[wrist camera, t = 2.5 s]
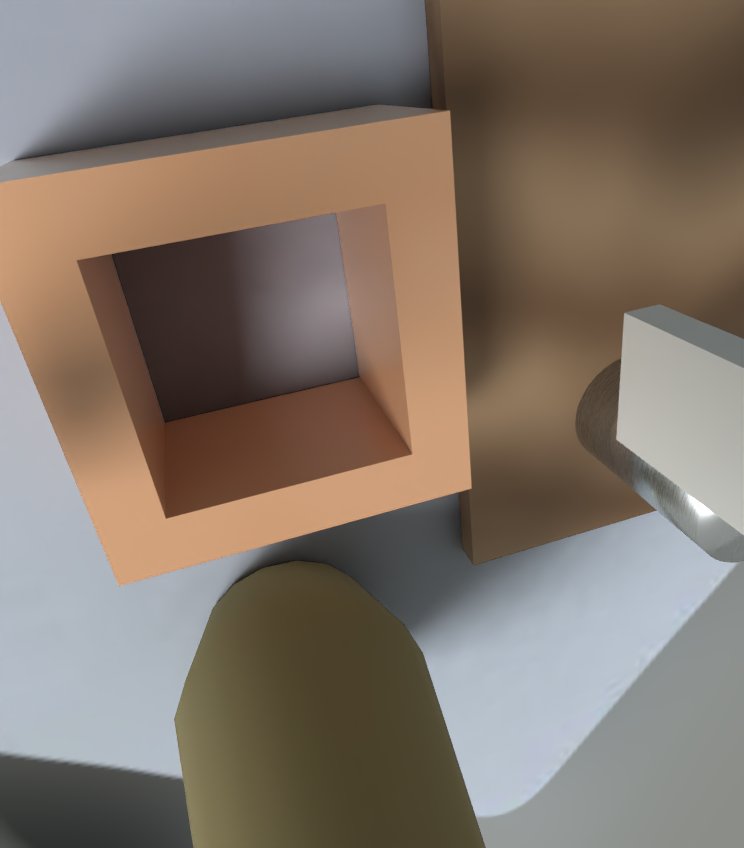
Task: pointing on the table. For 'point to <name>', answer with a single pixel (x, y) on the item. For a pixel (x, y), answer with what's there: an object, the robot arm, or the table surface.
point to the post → (648, 471)
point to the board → (580, 226)
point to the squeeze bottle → (316, 723)
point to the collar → (266, 419)
